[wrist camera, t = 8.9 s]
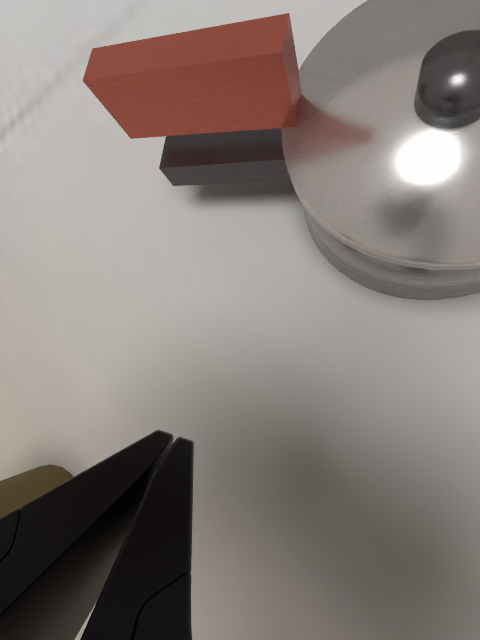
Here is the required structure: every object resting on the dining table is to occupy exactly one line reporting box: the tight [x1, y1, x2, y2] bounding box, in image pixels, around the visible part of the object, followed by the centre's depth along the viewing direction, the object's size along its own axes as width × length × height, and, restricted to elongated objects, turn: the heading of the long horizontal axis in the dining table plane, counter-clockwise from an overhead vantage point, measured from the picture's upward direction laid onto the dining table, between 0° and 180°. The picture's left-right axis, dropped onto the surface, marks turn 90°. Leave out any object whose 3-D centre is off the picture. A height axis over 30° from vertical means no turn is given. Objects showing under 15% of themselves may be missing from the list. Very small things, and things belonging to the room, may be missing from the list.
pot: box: [159, 128, 480, 299], centre depth 19 cm, size 24×14×5 cm, turn 81°
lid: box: [83, 0, 480, 270], centre depth 15 cm, size 23×15×5 cm, turn 79°
